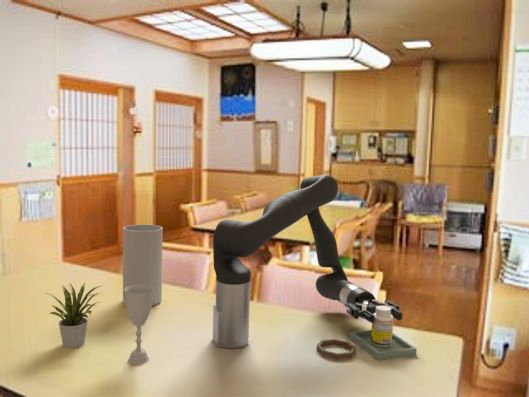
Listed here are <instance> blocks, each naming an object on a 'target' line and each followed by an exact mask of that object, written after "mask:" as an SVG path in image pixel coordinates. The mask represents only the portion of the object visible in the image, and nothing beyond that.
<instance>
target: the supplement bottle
mask: <svg viewBox="0 0 529 397" xmlns="http://www.w3.org/2000/svg"><path fill="white" fill-rule="evenodd" d="M373 315H374V316H375V319H374V323H371V330H372V334H371V342H372V344H373V345H375V346H378V347H389V346H391V344H392V333H394V332H393V329H394V317H393V316H392V315H391V308H390V307H387V306H377V307H376V313H374V314H373Z"/></svg>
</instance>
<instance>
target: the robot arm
mask: <svg viewBox="0 0 529 397" xmlns="http://www.w3.org/2000/svg"><path fill="white" fill-rule="evenodd" d="M338 192H339V185H338V182H337V179H335V178H334V177H333V176H332V175H328V174H319V175H314V176H307V177H305V178H303V179H302V181H301V182H300V188H299V189H296V190H292V191H288V192H285V193H283V194H281V195H279V196H277V197H275V198H273V199H272V200H270V201H268V203H267V204H266V205H265V206H264V208H263V210H262V216H260V217H259V218H257V219H254V220H252V221H240V220H235V219H223V220H220V221H219V222H218V223H217V225H216V227H215V229H214V232H213V238H212V252H213V254H212V256H213V257H212V258H213V270H214V273H215V277H216V278H215V281H216V282H215V304H214V305H213V306H212V307H213V309H212V310H213V311H212V313H213V314H212V340H213V342H214V343H215V345H216V347H217V348H227V349H235V348H236V349H237V348H238V349H239V348H242V347H245V346H247V345H248V344H249V337H250V336H249V335H250V332H249V331H250V305H251V304H250V303H251V283H252V282H251V281H252V278H251V277H252V272H251V270H250V268H248V266H246V265H245V264H244V263H243V262H242V261H241V259H240V258H246V257H250V256H251V255H252V254H255V252H257V251H258V250H259V249H260V248H262V246H264V245H265V244H266V243H267V242H268V241H270V240H271V239H272V238H273V237H275V236H276V235H278V234H279V233H281V232H282V231H284V230H286V229H287V228H289V227H291V226H292V225H294V224H296V223H297V222H298V221H300V220H302V219H303V218H304V217H307V221H308V223H309V227H310V229H311V232H312V236H313V240H314V245H315V252H316V258H317V263H318V266H319V267H321V268H330V269H331V270H332V272H329V273H327V274H322V275H319V276H318V277H317V278H316V281H315V288H316V290H317V292H318V294H319V295H321V297H323V298H325V299H329V300H333V301H337V302H340V303H341V304H342V305H343V306H344V307H345V308H346V313H347V314H348V315H349V316H351V317H352V318H353V319H356V320H357V319H359V318H360V319H362V320H366V321H367V322H369V323H371V324H372V323H374V319H375V316H374V315H373V314H374V313H376V307H377V306H387V307H390V308H391V315H392V316H393V319H396V320H397V321H402V320H403V312H402V311H400V308H401V306H400V305H399V304H397V303H395V302H393V301H391V300H389V299H386V300H384V302H383V301H379V300H377V299H376V297H375V296H374V294H373V293H372V292H370V291H368V290H367V289H365V288H363V287H361V286H359V285H357V284H354V283H353V282H351V281H349V280H348V277H347V274H346V273H345V270H344V268H343V265H342V263H341V260H340V256H339V250H338V245H337V240H336V237H335V235H334V234H333V231H332V230H331V229H330V227H329V226H328V225H327V223H326V222H325V220H324V217H322V215H321V211H320V207H322V206H324V205H326V204H330V203H331V202H334V200H335V199H336V197H337V195H338Z"/></svg>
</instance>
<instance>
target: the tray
mask: <svg viewBox="0 0 529 397" xmlns="http://www.w3.org/2000/svg"><path fill="white" fill-rule="evenodd" d="M371 334H372V329H368V330H359V331H357V330H356V331H350V333H349V338H350V340H352V341H353V342H354V343H356V344H357V345H358V346H360V347H361V348H362V349H363V350H365V352H367V353H369V354H370V356H372V357H373V358H374V359H376V360H378V361H381V360H389V359H397V358H404V357H405V358H406V357H413V356H417V352H418V350H417V348H416V347H415V346H413V345H412V344H411V343H409V342H408V341H406V340H405V339H403V338H402V337H400V336H398V335H396V334H395V333H394V332H392V344H391V346H389V347H378V346H375V345H373V344H372V342H371Z"/></svg>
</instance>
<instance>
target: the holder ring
mask: <svg viewBox="0 0 529 397" xmlns="http://www.w3.org/2000/svg"><path fill="white" fill-rule="evenodd" d="M329 346H337V347H342V348H346V349H347V350H348V352H347V351H346V352H333V351H330V350H325V348H323V347H329ZM316 352H317V353H318V354H320V356H321V357H322V358H327V359H330V360H335V361H344V360H350V359H353V358H354V356H355V354H356V353H357V347H356V346H355V345H354V344H352V343H351V342H350V341H349V340H343V339H339V338H329V339H321V340H320V341H319V342H318V343H316Z"/></svg>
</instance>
